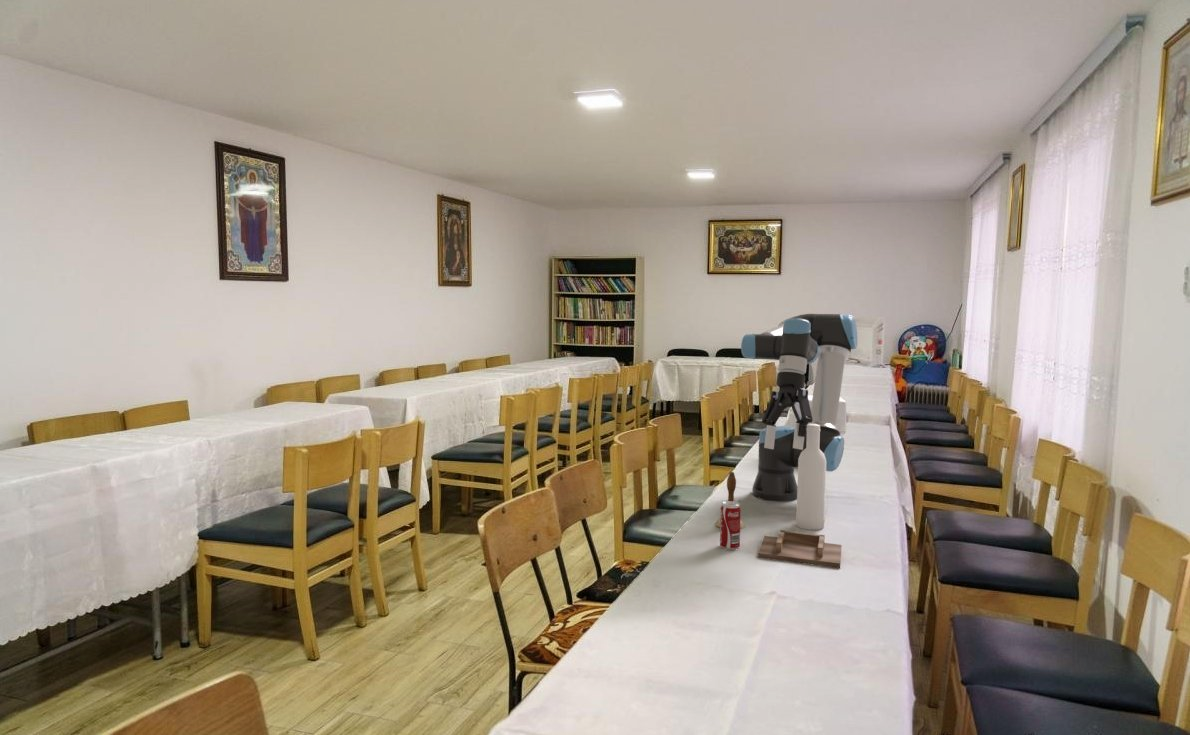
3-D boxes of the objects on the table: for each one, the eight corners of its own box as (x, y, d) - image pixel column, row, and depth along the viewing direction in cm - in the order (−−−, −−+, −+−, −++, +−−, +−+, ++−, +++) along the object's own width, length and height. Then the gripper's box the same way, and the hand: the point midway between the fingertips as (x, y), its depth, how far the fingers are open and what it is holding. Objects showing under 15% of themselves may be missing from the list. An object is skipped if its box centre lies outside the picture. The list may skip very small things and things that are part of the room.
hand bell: (747, 523, 207) (748, 470, 206) (740, 531, 200) (741, 477, 198) (719, 519, 211) (720, 467, 209) (712, 527, 203) (713, 473, 202)
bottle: (825, 531, 200) (829, 427, 197) (797, 529, 202) (800, 426, 199) (822, 522, 208) (826, 422, 205) (794, 520, 210) (798, 421, 207)
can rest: (764, 539, 193) (764, 526, 193) (841, 549, 186) (841, 535, 186) (757, 557, 180) (758, 543, 180) (840, 568, 173) (840, 553, 173)
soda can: (717, 543, 190) (718, 500, 189) (736, 543, 190) (737, 500, 189) (722, 550, 185) (723, 506, 183) (742, 550, 185) (743, 506, 184)
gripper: (755, 374, 207) (746, 446, 204) (807, 366, 184) (798, 446, 180) (777, 379, 209) (768, 450, 206) (831, 371, 186) (823, 451, 182)
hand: (782, 448), depth 193 cm, fingers open, 13 cm apart
